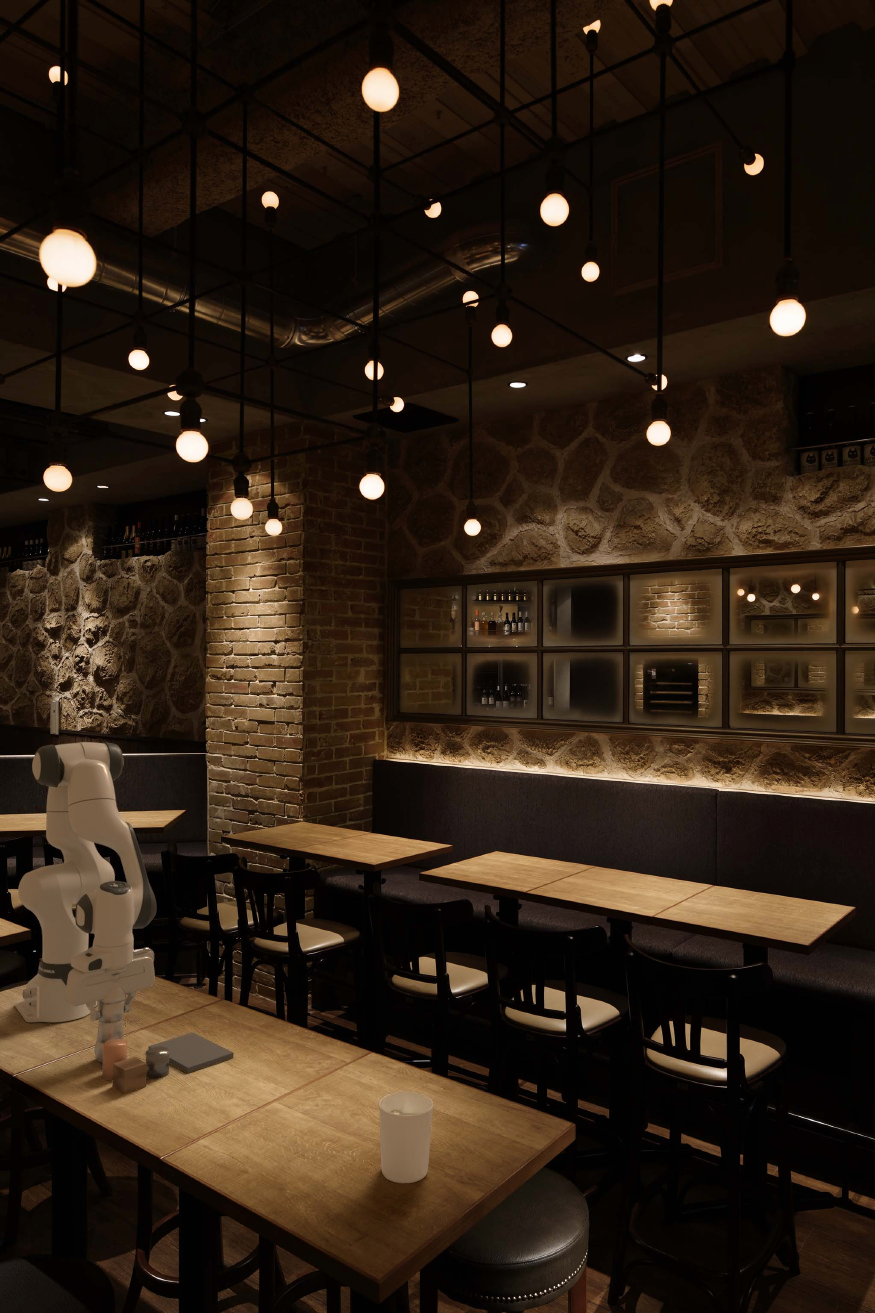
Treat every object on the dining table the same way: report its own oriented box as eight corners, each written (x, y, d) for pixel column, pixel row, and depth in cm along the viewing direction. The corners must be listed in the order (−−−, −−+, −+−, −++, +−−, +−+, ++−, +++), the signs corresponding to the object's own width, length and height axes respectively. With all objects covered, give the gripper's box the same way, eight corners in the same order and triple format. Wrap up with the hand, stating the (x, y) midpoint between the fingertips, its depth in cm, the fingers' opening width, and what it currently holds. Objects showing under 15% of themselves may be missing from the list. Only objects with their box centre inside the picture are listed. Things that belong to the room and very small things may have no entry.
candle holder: (376, 1157, 164) (378, 1091, 164) (429, 1156, 165) (431, 1090, 165) (377, 1187, 154) (379, 1116, 155) (433, 1185, 155) (435, 1115, 155)
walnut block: (112, 1087, 190) (113, 1063, 190) (133, 1080, 194) (134, 1056, 194) (124, 1094, 187) (125, 1070, 187) (145, 1087, 191) (146, 1063, 191)
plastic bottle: (129, 1055, 206) (132, 968, 207) (115, 1067, 200) (119, 977, 201) (102, 1053, 207) (106, 967, 208) (88, 1065, 200) (92, 976, 201)
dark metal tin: (141, 1073, 197) (141, 1051, 197) (161, 1067, 200) (162, 1045, 201) (152, 1081, 193) (152, 1058, 194) (173, 1074, 197) (173, 1051, 197)
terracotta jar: (97, 1075, 196) (99, 1042, 196) (119, 1068, 199) (120, 1037, 200) (108, 1082, 192) (110, 1049, 193) (130, 1075, 196) (131, 1043, 196)
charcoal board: (148, 1051, 209) (148, 1046, 209) (192, 1037, 218) (193, 1032, 218) (188, 1073, 198) (188, 1068, 198) (233, 1057, 206) (233, 1052, 207)
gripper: (147, 943, 214) (145, 1001, 214) (63, 960, 199) (61, 1023, 198) (161, 948, 210) (158, 1008, 209) (76, 967, 195) (74, 1031, 194)
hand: (110, 1015), depth 204 cm, fingers closed on plastic bottle, 6 cm apart
